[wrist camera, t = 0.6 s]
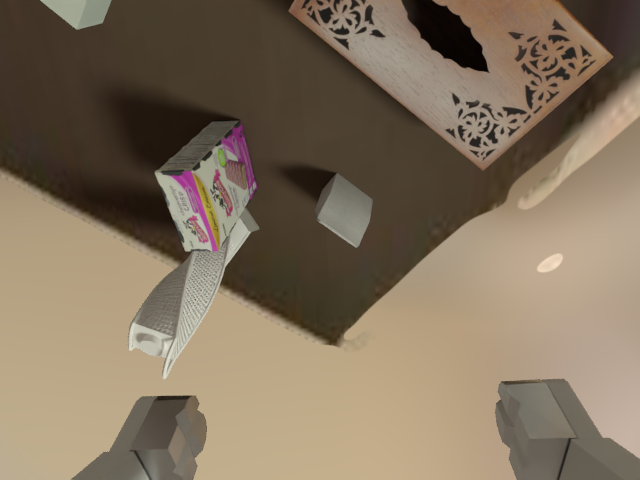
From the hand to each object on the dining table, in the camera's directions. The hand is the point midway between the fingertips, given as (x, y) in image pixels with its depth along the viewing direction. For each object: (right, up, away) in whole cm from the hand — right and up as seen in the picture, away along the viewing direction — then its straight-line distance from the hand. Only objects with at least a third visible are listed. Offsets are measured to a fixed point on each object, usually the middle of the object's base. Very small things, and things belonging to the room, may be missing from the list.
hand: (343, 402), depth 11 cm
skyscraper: (-15, +8, +56) cm, 59 cm away
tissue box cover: (+13, +29, +34) cm, 46 cm away
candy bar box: (-13, +17, +48) cm, 53 cm away
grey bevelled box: (+3, +11, +49) cm, 50 cm away
